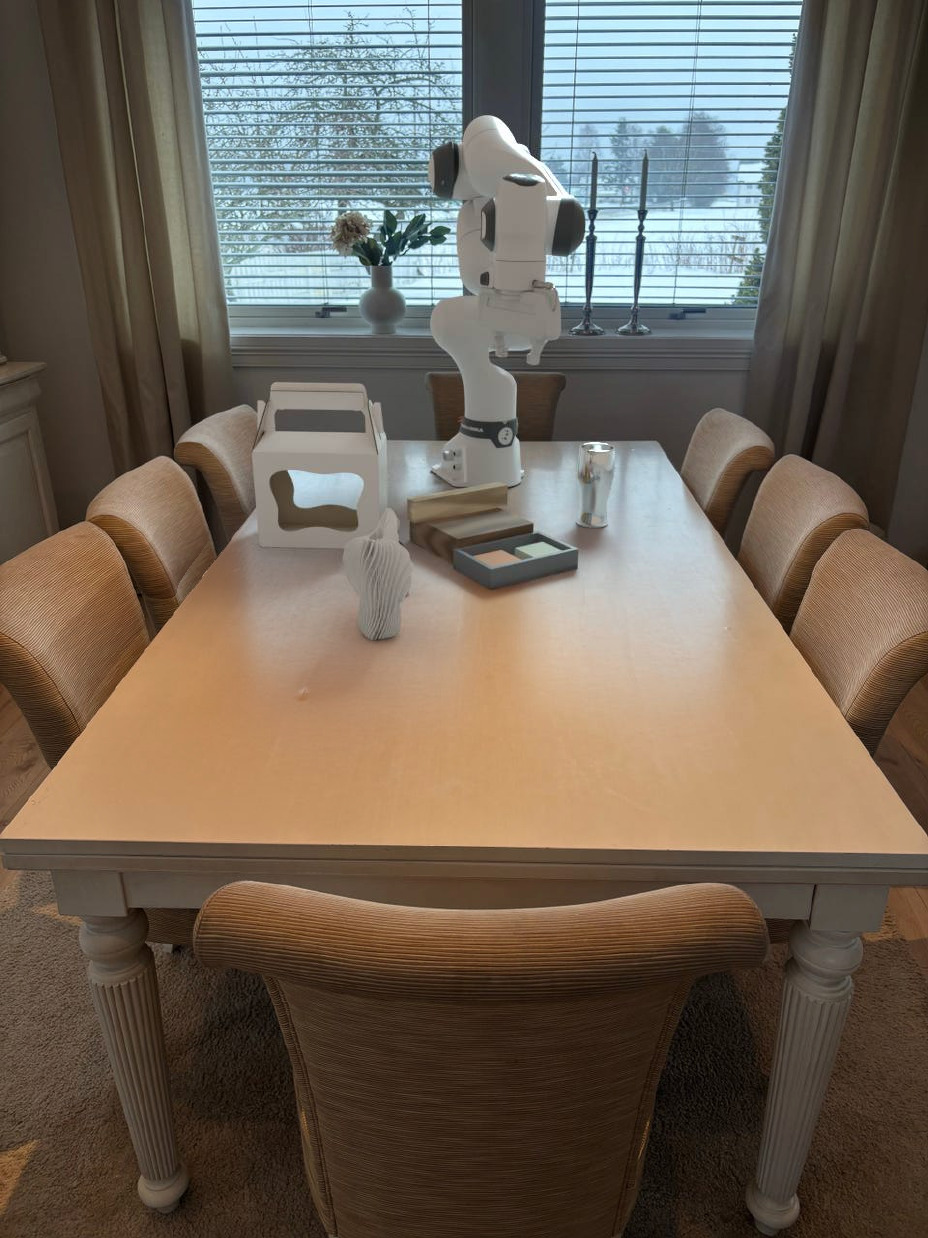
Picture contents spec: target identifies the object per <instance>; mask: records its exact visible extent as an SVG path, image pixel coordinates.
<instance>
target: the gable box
mask: <svg viewBox="0 0 928 1238" xmlns="http://www.w3.org/2000/svg"><path fill="white" fill-rule="evenodd" d="M278 410H281V411H284V410H315V411H317V410H323V411H325V410H326V411H328V410H329V411H330V410H332V411H354V412H358V411H360V412H362V414H363V415H364V419H365V431H338V430H337V431H336V430H335V431H328V430H322V431H321V430H279V429H278V430H276V418H275V417H276V416H275V415H276V414H275V413H276V412H277V411H278ZM256 421H257V432H256V435H255V439H254V443H253V446H252V449H251V460H252V474H253V484H254V495H255V497H254V498H255V505H256V506H255V507H256V509H255V510H256V519H257V520H256V521H257V531H258V532H257V533H258V545H259V547H260V548H279V549H280V548H283V549H284V548H285V549H287V548H289V549H296V548H297V549H328V550H329V549H332V550H333V549H335V550H344V546H345V545H346V544H347V543H348V542H349V541H351V540H353V539H355V538H358V537H363V536H367V535H369V534H371V533H372V532H374V530H376V527H377V531H376V534H377V532H378V524H379V521H380V520H381V518H382V515H384V513H385V510H386V509H387V508H389V496H388V495H389V494H388V491H389V489H388V486H389V485H388V454H387V453H388V452H387V434H386V432H385V431H384V423H383V415H382V404H381V402H380V401H375V402H374V403H373V402H372V400H371V399H369V398H368V392H367V389H366V386H365V385H364V384H363V383H361V382H360V383H359V382H318V381H317V382H314V381H313V382H312V381H310V382H308V381H306V382H305V381H304V382H302V381H300V382H299V381H274V382H273V383H272V384H271V385H270V389H269V397H268V398H267V400H266V401H265V400H263V399H258V400H257V418H256ZM289 471H300V472H305V473H306V472H307V473H311V474H318V475H331V474H332V475H333V474H341V473H342V474H343V473H345V474H348V473H349V474H353V475H357V476H358V477H360V478H361V480H362V482H363V487H362V491H361V493H360V496H359V498H358V500H357V506H356V509H355V508H354V509H353V508H350V507H347V506H345V505H339V504H321V505H318V506H312V507H300V506H297V505H296V502H295V499H294V495H295V487H294V482H293V479H292V477H291V475H290V473H289ZM378 535H379V534H378ZM377 539H378V537H377Z"/></svg>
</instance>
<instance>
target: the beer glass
mask: <svg viewBox="0 0 928 1238" xmlns="http://www.w3.org/2000/svg"><path fill="white" fill-rule="evenodd" d="M615 450H616V446H614V445H611V444H610V443H603V442H586V443H582V444H580V445H579V451H578V456H577V457H578V459H577V465H576V466H577V469H576V479H577V481H576V482H577V488H578V499H579V501H578V502H579V504H578V505H579V506H578V512H577V517H576V519H575V521H576V522H575V523H576V525H578V526H579V527H584V528H588V529H589V528H590V529H600V528H604V527H606V526H607V525H608V523H609V520H608V501H609V497H610V494H611V490H612V486H613V481H614V477H615V476H614V475H615V465H616V464H615V463H616V462H615V461H616V460H615V458H616V457H615V452H616V451H615Z"/></svg>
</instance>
